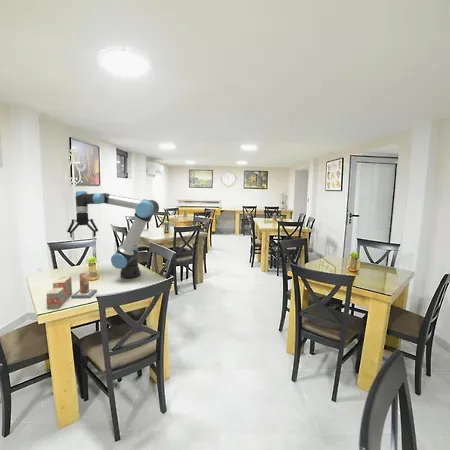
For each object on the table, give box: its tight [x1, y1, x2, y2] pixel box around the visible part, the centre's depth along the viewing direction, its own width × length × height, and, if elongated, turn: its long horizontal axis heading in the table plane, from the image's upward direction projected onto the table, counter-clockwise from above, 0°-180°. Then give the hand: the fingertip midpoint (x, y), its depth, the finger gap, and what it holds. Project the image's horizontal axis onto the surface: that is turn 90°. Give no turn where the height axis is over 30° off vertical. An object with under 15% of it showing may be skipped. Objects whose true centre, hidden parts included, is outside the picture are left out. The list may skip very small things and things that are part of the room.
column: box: [79, 272, 90, 294], centre depth 175 cm, size 5×5×12 cm
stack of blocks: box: [46, 276, 73, 310], centre depth 164 cm, size 21×6×12 cm, turn 11°
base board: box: [71, 289, 98, 300], centre depth 175 cm, size 11×11×2 cm
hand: (83, 241), depth 200 cm, fingers open, 13 cm apart
